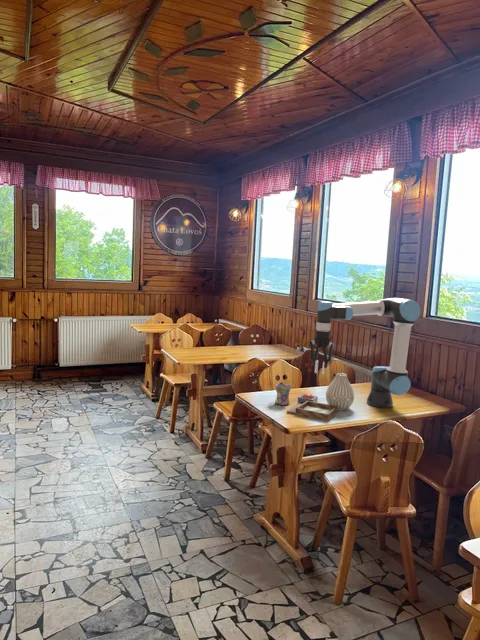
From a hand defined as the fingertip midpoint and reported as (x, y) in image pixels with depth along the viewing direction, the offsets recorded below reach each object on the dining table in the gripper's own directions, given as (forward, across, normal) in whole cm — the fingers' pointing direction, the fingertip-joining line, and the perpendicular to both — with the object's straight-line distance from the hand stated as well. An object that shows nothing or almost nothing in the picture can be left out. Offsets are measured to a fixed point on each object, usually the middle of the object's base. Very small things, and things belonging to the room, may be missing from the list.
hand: (319, 373), depth 253 cm
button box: (+23, +11, -15) cm, 29 cm away
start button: (+21, +11, -15) cm, 28 cm away
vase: (+23, -7, -18) cm, 30 cm away
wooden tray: (+23, +2, 0) cm, 23 cm away
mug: (+23, +24, -6) cm, 34 cm away
